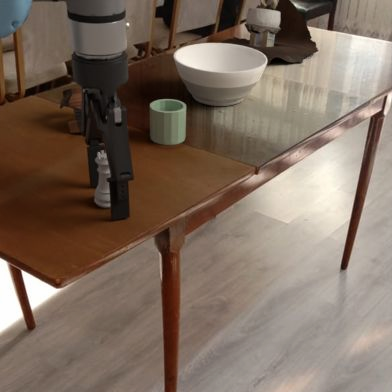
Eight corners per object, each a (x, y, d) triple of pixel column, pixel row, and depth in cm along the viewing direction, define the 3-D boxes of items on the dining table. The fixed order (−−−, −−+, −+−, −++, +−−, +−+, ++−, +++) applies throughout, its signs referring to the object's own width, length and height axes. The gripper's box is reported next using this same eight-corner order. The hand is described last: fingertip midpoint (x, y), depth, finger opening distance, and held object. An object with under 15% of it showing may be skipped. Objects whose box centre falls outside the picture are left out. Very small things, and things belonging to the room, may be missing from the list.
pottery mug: (54, 136, 118) (48, 89, 116) (78, 140, 126) (73, 97, 125) (112, 127, 114) (106, 79, 112) (132, 133, 123) (128, 88, 121)
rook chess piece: (104, 193, 101) (100, 145, 95) (128, 199, 99) (126, 151, 94) (88, 204, 98) (84, 156, 92) (113, 212, 96) (110, 162, 91)
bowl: (217, 75, 145) (219, 37, 139) (282, 99, 135) (287, 59, 129) (154, 94, 134) (153, 54, 129) (219, 122, 124) (222, 79, 119)
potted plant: (215, 59, 161) (230, -55, 151) (267, 66, 173) (283, -38, 163) (270, 65, 148) (290, -58, 138) (321, 73, 159) (343, -40, 149)
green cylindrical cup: (157, 147, 114) (157, 114, 111) (145, 133, 119) (144, 101, 115) (190, 142, 117) (191, 109, 113) (177, 128, 121) (177, 97, 117)
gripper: (156, 75, 77) (157, 232, 92) (100, 25, 93) (109, 166, 107) (97, 82, 75) (108, 241, 89) (50, 30, 90) (66, 173, 105)
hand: (109, 200), depth 98 cm, fingers open, 10 cm apart
